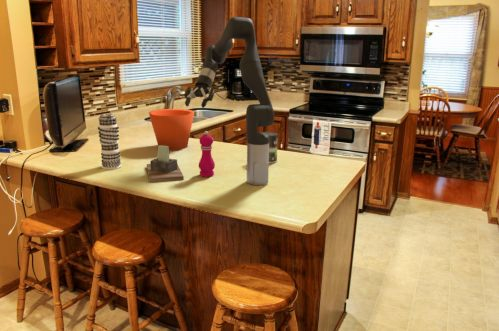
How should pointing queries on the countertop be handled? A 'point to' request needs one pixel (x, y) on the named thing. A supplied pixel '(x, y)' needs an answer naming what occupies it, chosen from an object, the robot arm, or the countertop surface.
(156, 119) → the flowerpot
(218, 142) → the countertop surface
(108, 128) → the decorative candle
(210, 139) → the pepper mill
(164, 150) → the slat
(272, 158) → the coffee can
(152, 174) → the brown piece
